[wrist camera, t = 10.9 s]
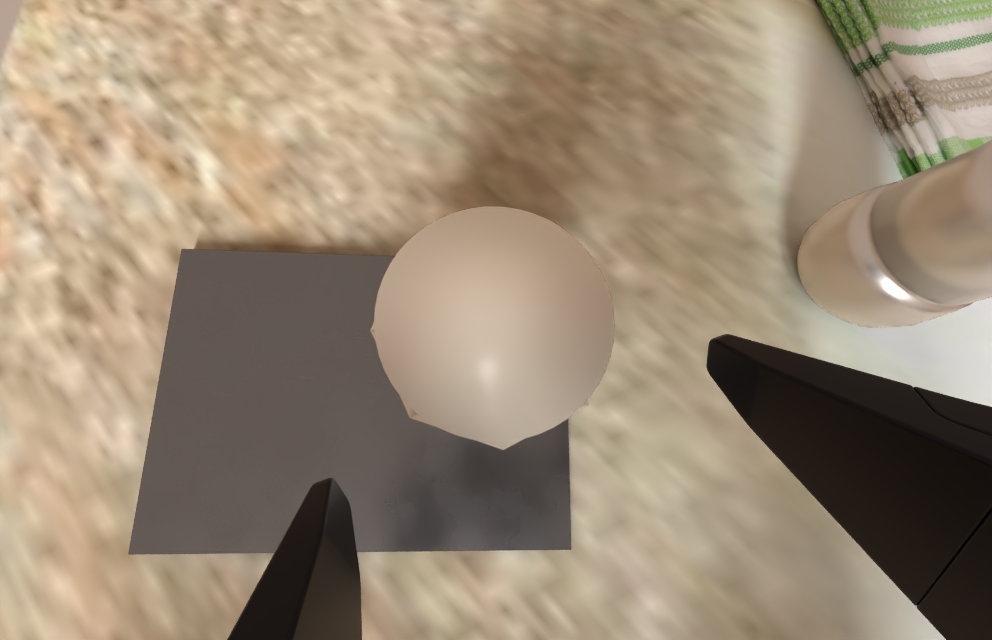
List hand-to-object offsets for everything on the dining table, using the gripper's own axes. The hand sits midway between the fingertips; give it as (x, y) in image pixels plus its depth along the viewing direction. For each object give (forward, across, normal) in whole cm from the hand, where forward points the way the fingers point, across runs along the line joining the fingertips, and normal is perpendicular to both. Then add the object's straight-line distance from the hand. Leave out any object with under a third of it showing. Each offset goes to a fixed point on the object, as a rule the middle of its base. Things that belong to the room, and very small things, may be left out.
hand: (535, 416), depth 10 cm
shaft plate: (+10, +5, +6) cm, 12 cm away
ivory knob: (+9, 0, +5) cm, 10 cm away
